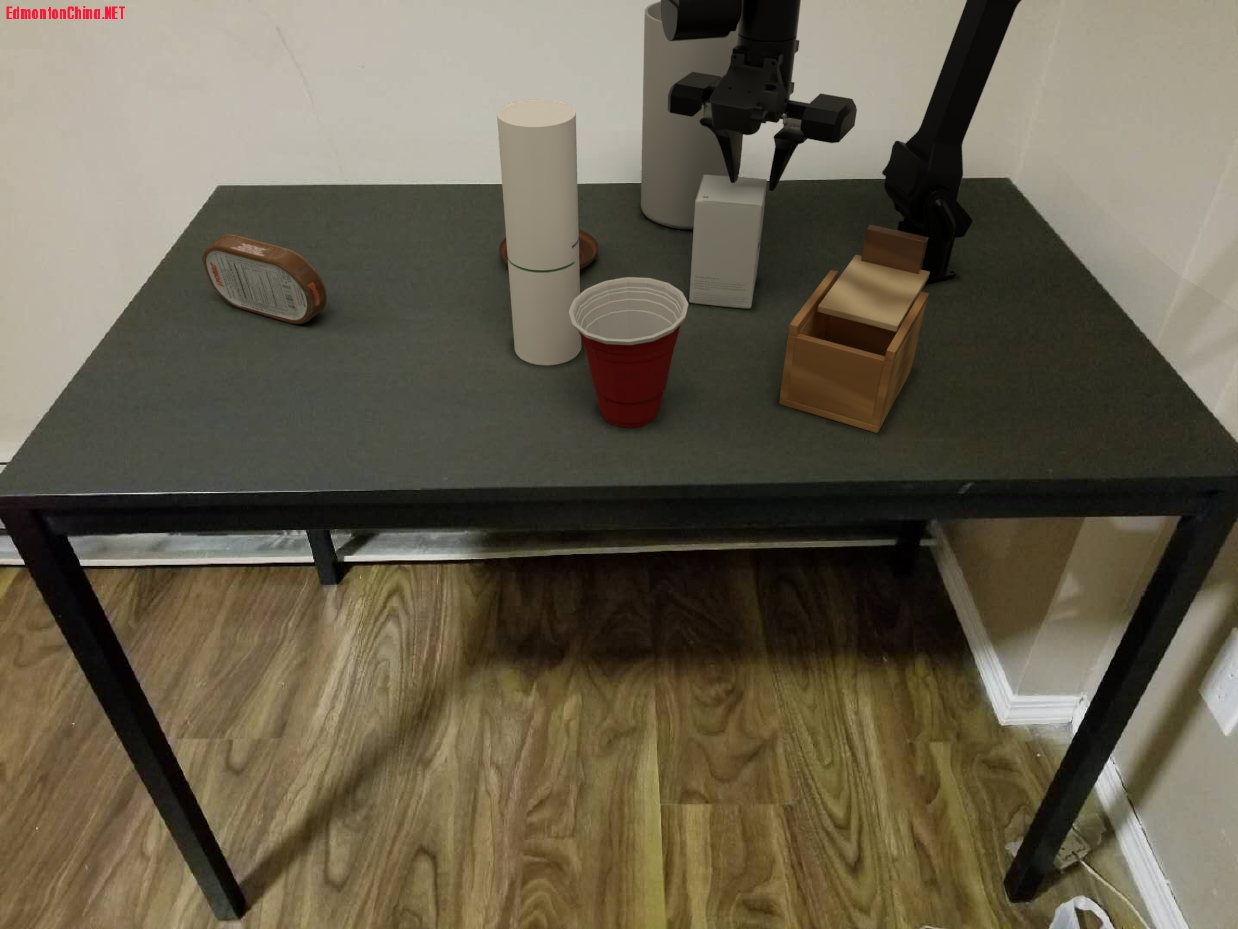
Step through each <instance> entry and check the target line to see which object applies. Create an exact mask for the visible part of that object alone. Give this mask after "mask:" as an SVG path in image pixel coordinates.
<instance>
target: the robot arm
mask: <svg viewBox="0 0 1238 929" xmlns="http://www.w3.org/2000/svg"><path fill="white" fill-rule="evenodd" d="M660 1H661V19H662V25H663V30H664V34H665V36H666V38H667V40H668V41H682V40H697V39H711V38H725V37H727V36H728V35H729V33H730V31H736V28H737V24H738V23H739V30H738V43H737V46H736V47H734V48H733V51H732V55H731V63H730V66H729V68H728V71H727V74H726V75H724V76H723V78H722V77H721V76H715V75H709V74H703V73H698V72H691V73H690V74H688V75H687V76H685V77H684V78H682V79H681V80H679V81H678V82H676V83H675V84H674V85H673V86H672V87H671V88H670V91H669V94H668V111H669V112H670V113H674V114H679V115H684V116H690V117H693V116H694V115H695V114H697V113H698V112H699V111H700V110H701V109H702V105H704V107H703V118H702V119H700V124H701V125H702V126H705V127H708V128H709V129H710V130H711V131H712V132H713V133H714V134H715V135H716V137H717V140H718V142H719V145H720V147H721V150H722V154H723V157H724V161H725V164H726V168H727V171H728V175H729V178H730V182H731V183H735V182H736V181H737V180H738V177H739V175H740V170H741V165H742V164H741V163H742V154H743V152H742V151H743V140H744V136H753V135H755V134H757V133H758V132H759V130H760V129H761V126H762V124H764V125H765V124H767V123H769V122H770V123H773V124H778V123H779V122H780V120H782V124H783V126H782V128H781V129H780V130H778V132H776V133H775V134H774V135H773V141H774V151H773V157H772V163H771V168H770V173H769V178H768V180H769V181H768V191H770V192H773V191H775V189H776V188H777V186H778V184H779V182H780V180H781V178H782V176H783V174H784V172H785V170H786V168H787V166H788V164H789V163H790V160H791V158H792V156H793V155H794V153H795V151H796V149H797V148H798V146H799V145H801V144H804V143H805V142H806V141H807V140H812V141H817V142H823V143H829V144H839V143H840V142H841V141H842V140H843V139H844V137H846V136H847V135H848V134H849V132H850V131H852V129H854V127H855V126H856V119H857V113H858V108H857V105H856V103H855V101H854V99H853V98H851V97H850V98H849V97H844V96H838V95H833V94H826V93H819V94H817V96H815V98H814V99H812V100H811V101H810V102H803V101H798V100H792V99H791V95H792V94H793V93H794V91H795V83H796V82H794V81H793V72H794V63H795V55H796V53H798V52H799V48H800V40H799V39H797V37H798V30H799V20H800V10H801V2H802V0H660ZM1021 2H1022V0H965V5H964V7H963V9H962V12H961V15H960V18H959V21H958V23H957V26H956V29H955V31H954V34H953V37H952V39H951V43H950V45H949V48H948V50H947V52H946V53H947V54H946V55H945V58H944V61H943V64H942V67H941V69H940V72H939V74H938V78H937V80H936V83H935V85H934V87H933V88H934V89H933V91H932V94H931V97H930V99H929V102H928V105H927V108H926V110H925V113H924V116H923V118H922V121H921V123H920V126H919V129H918V130H917V131H916V132H915V133H914V134H913V135H912V136H911V138H909V139H908V140H907V141H906V142H903V141H901V140H895V141H894V143H893V145H892V147H891V152H890V155H889V156H890V157H889V160H888V162H887V164H886V166H885V167H884V169H883V170H882V171H881V175H883V176H884V177H885V179H884V182H883V185H884V186H883V187H884V190H885V192H886V194H887V197H888V198H889V199H890V200H892V202H893V207H894V211H896V212H897V213H899V214H900V215H901V216H902V217H903V220H901V221H898V224H897V229H896V230H897V231H902V232H907V233H911V234H916V235H920V236H925V237H928V242H927V246H926V251H925V255H924V260H923V264H922V269H921V270H925V271H929V272H930V274H929V278H928V280H927V281H926V283H925V285H927V284H931V283H932V284H933V283H936V282H940V281H945V280H947V279H952V278H955V277H956V276H957V272H956V271H955V270H954V269H953V268H951V267H950V266H949V263H950V259H951V256H952V253H953V252H952V251H953V247H954V244H955V239H957V238H963V237H965V236H966V234H967V232H968V231H969V229H970V227H971V225H972V224H973V218H972V217H971V216H970V215H969V214H968V212H967V211H966V209H965V208H964V207H963V206H962V205H961V204H960V203H959V201H958V198H959V193H960V189H961V185H962V180H963V178H964V163H963V162H964V160H963V143H964V140H965V137H966V135H967V132H968V130H969V128H970V125H971V122H972V120H973V118H974V115H975V112H976V109H977V108H978V105H979V102H980V99H981V97H982V94H983V93H984V90H985V87H986V84H987V82H988V79H989V77H990V74H991V72H992V70H993V67H994V64H995V62H996V59H997V57H998V54H999V52H1000V50H1001V47H1002V44H1003V42H1004V39H1005V36H1006V35H1007V31H1008V29H1009V26H1010V24H1011V21H1012V19H1013V17H1014V14H1015V12H1016V9H1017V7H1018V6H1019V4H1020V3H1021Z"/></svg>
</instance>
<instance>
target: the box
mask: <svg viewBox="0 0 1238 929" xmlns="http://www.w3.org/2000/svg"><path fill="white" fill-rule="evenodd" d="M838 275H839V271H838V270H833V269H830V270H829V272H828V273H827V274H826V276H825V277H824V278H823V280H821V282H820V284H819V285H818V286H817V288H816V289H815V290H814V291H813V293H812V294H811V295H810V297H809V298H808V299H807V300H806V302H805V303H804V304H803V306H802V307H801V309H800V310H799V311H798V312H797V314H796V315H795V316H794V318H793V319H792V320H791V322H790V323H789V326H788V332H787V333H788V334H787V342H786V347H785V355H784V363H783V370H782V376H781V377H782V378H781V384H780V385H781V386H780V394H779V400H778V405H780V406H784V407H787V408H791V409H795V410H797V411H801V412H805V413H808V414H810V415H815V416H818V417H821V418H825V419H828V420H831V421H835V422H838V423H841V424H845V425H849V426H852V427H856V428H858V429H862V430H865V431H868V432H872V433H875V434H878V433H879V431H880V430H881V427H882V426H883V424H884V422H885V420H886V419H887V416H888V415H889V413H890V411H891V409H892V407H893V405H894V404H895V401H896V399H897V398H898V396H899V394H900V392H901V390H902V388H903V386H904V385H905V383H906V381H907V379H908V377H909V375H910V373H911V372H912V368H913V363H914V360H915V355H916V351H917V347H918V344H919V338H920V335H921V330H922V327H923V326H922V325H923V321H924V318H925V313H926V309H927V304H928V299H929V296H930V293H929V292H926V291H920V293H919V295H918V296H917V298H916V300H915V302H914V303H913V305H912V307H911V308H910V310H909V312H908V313H907V315H906V317H905V318H904V320H903V322H902V324H901V325H900V327H899V329H898V330H897V332H894V331H891V330H887V329H883V328H879V327H875V326H871V325H867V324H863V323H859V322H855V321H851V320H848V319H844V318H840V317H836V316H832V315H828V314H824V313H820V312H817V310H818V305H819V304H820V303H821V301H822V300H823V299H824V297H825V296H826V295H827V293H828V292H829V291H830V289H831V288H832V287H833V285H834V284H835V282H836V281H837V280H838Z"/></svg>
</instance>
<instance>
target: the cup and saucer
mask: <svg viewBox="0 0 1238 929" xmlns="http://www.w3.org/2000/svg"><path fill="white" fill-rule="evenodd" d="M578 238H579V270H582V269H584V268H585V267H587V266H589V265H590V264H591V263H592V262H593V261H594V260H595V259H596V258H597V255H598V252H599V243H598V241H597V239H595V237H593V235H591V233H589V232H587V231H585V230H582V229H579V237H578ZM498 252H499V255H500V258H501V259H502V261H503V262H504V263H505V264H506V265H508V255H507V242H506V237H505V238H504V239H503V240H502V241H501V242H500V244H499V247H498Z"/></svg>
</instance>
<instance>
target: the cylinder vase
mask: <svg viewBox="0 0 1238 929" xmlns="http://www.w3.org/2000/svg"><path fill="white" fill-rule="evenodd" d="M643 19H644V20H643V21H644V22H643V73H642V74H643V76H642V119H641V120H642V127H641V128H642V130H641V173H640V176H641V177H640V208H641V211H642V213H643V214H644V215H645V216H646V217H647V219H649V220H651V221H652V222H654V223H656V224H658V225H661V226H663V227H667V228H672V229H676V230H678V229H679V230H694V214H695V200H696V198H697V195H698V191H699V187H700V185H701V181H702V178H703V175H717V176H729V175H728V171H727V168H726V164H725V161H724V157H723V154H722V150H721V147H720V145H719V142H718V140H717V137H716V135H715V134H714V133H713V132H712V131H711V130H710V129H709V128H708V127H705V126H702V125H701V124H700V119H702V118H703V107H704V105H702V109H701V110H700V111H699V112H698V113H697V114H695V115H694V116H693V117H690V116H684V115H679V114H674V113H670V112H669V111H668V94H669V91H670V88H671V87H672V86H673V85H674V84H675V83H676V82H678V81H679V80H681V79H682V78H684V77H685V76H687V75H688V74H690V73H691V72H698V73H703V74H709V75H715V76H721V77H722V78H723V76H724V75H726V74H727V71H728V68H729V66H730V63H731V55H732V51H733V48H734V47H736V46H737V43H738V30H739V23H738V24H737V28H736V31H730V33H729V35H728V36H727V37H725V38H711V39H697V40H682V41H668V40H667V38H666V36H665V34H664V30H663V25H662V19H661V0H659V1H655V2H653V3H651V4H649V5H648V6H646V7H645V8H644V18H643Z"/></svg>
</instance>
